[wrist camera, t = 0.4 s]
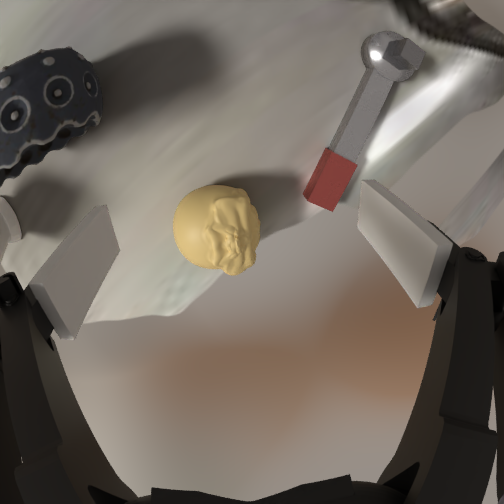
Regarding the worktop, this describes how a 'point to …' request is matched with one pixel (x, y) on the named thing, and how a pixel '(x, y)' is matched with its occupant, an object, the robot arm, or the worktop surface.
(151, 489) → the robot arm
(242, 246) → the sculpture
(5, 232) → the soap bottle
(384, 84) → the ratchet
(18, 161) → the ring
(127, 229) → the worktop surface
